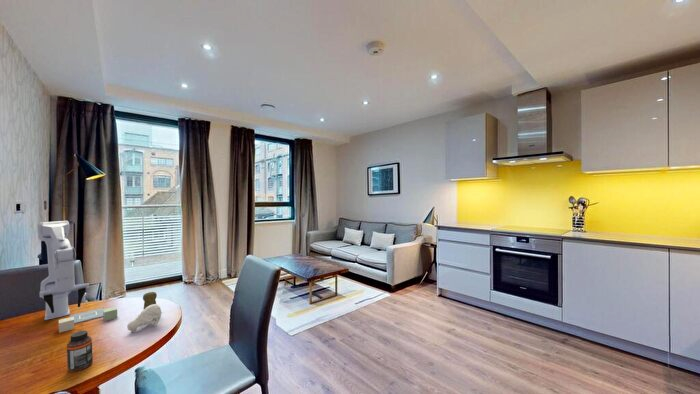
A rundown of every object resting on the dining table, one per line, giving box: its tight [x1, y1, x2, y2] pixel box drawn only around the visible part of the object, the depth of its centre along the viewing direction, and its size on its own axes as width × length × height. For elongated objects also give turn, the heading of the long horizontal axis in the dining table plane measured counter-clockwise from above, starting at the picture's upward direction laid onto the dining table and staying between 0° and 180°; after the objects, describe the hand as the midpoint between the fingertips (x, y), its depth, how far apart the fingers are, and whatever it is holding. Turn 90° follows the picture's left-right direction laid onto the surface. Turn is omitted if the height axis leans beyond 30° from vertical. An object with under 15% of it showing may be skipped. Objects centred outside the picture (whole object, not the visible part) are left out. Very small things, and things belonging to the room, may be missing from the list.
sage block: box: [102, 306, 118, 322], centre depth 127 cm, size 4×4×4 cm
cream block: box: [58, 316, 75, 334], centre depth 117 cm, size 4×4×4 cm
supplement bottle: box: [66, 329, 93, 373], centre depth 92 cm, size 6×6×11 cm
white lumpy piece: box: [127, 303, 163, 333], centre depth 118 cm, size 6×8×12 cm
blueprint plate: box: [69, 307, 105, 325], centre depth 130 cm, size 12×12×1 cm
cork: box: [142, 291, 157, 311], centre depth 128 cm, size 6×6×11 cm
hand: (66, 309), depth 117 cm, fingers open, 7 cm apart
